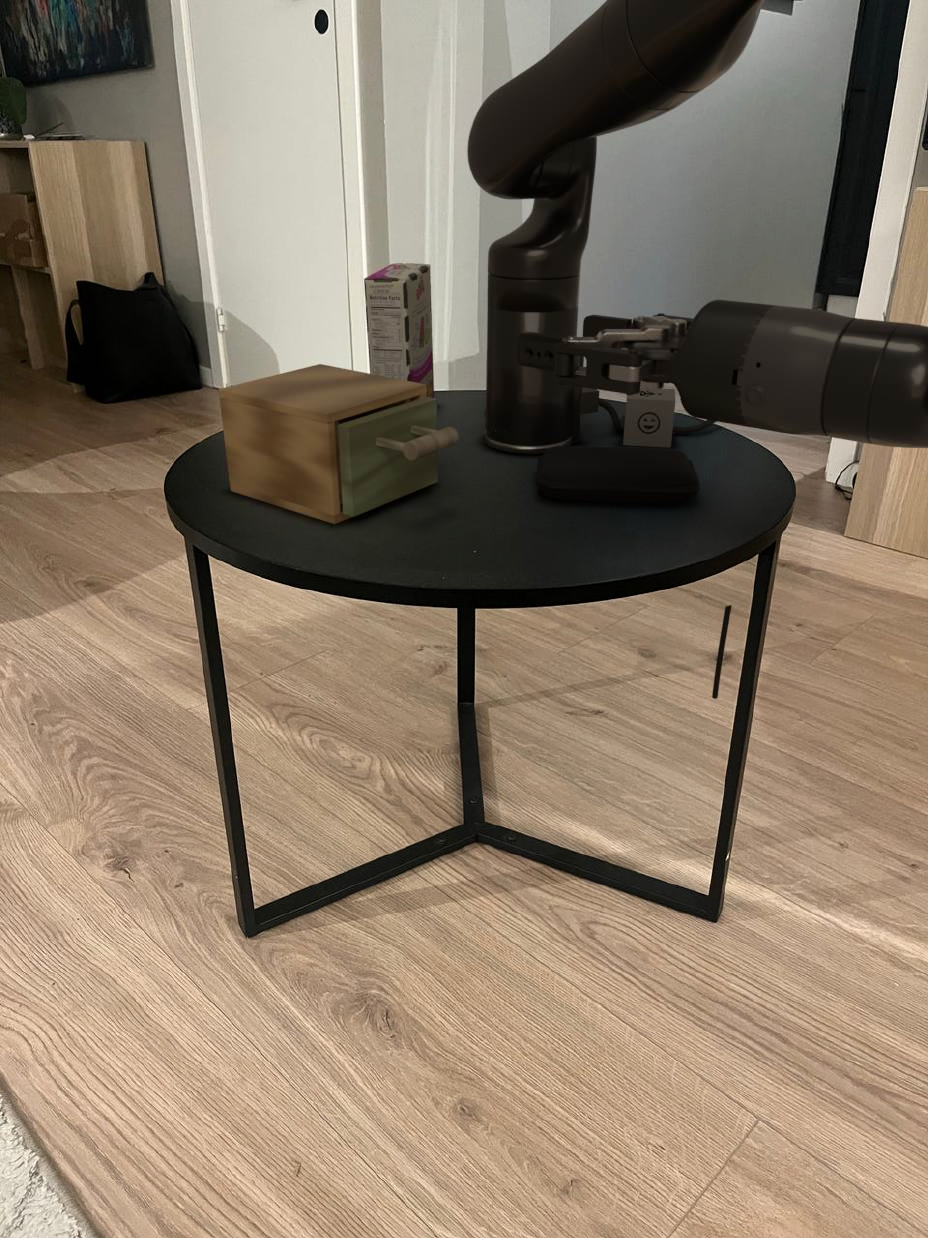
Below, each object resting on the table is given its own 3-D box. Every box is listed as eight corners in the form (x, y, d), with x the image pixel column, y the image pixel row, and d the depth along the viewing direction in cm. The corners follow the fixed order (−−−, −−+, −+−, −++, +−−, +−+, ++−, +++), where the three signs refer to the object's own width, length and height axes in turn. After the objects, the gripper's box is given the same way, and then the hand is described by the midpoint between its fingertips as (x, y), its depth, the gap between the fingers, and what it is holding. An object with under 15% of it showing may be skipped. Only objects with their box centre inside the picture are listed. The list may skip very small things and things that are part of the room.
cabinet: (428, 485, 90) (426, 384, 86) (334, 524, 82) (327, 414, 77) (326, 458, 98) (320, 363, 93) (230, 491, 89) (218, 388, 84)
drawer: (479, 492, 86) (480, 407, 82) (395, 530, 78) (392, 437, 74) (341, 456, 95) (336, 378, 92) (254, 486, 87) (245, 402, 84)
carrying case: (687, 471, 94) (538, 466, 95) (691, 441, 92) (539, 436, 94) (700, 510, 84) (534, 504, 86) (704, 477, 83) (535, 472, 84)
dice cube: (624, 431, 106) (627, 386, 104) (670, 434, 105) (674, 388, 103) (623, 445, 102) (626, 398, 99) (670, 447, 101) (675, 400, 98)
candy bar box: (395, 404, 116) (390, 262, 109) (435, 406, 116) (433, 263, 108) (369, 429, 107) (361, 275, 99) (412, 432, 106) (408, 277, 98)
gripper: (820, 292, 63) (607, 272, 72) (730, 323, 53) (496, 296, 62) (802, 404, 67) (600, 372, 75) (715, 453, 57) (494, 410, 65)
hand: (553, 338), depth 69 cm, fingers open, 8 cm apart
